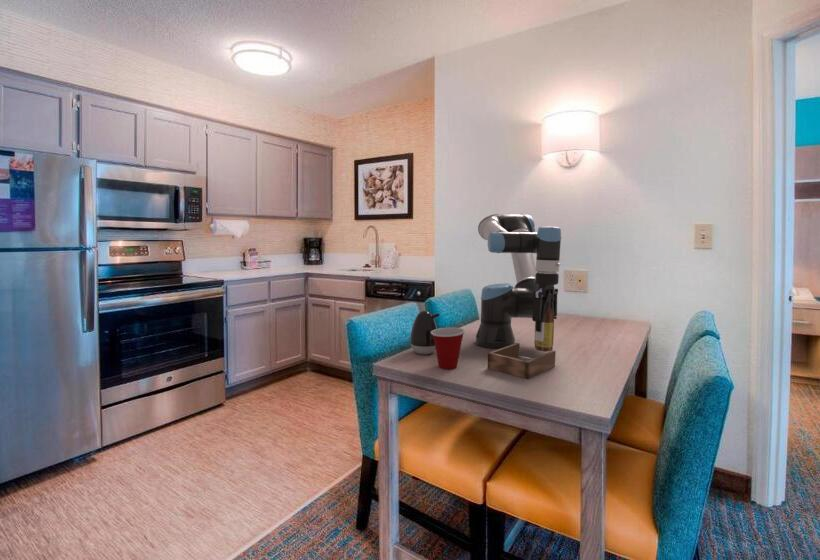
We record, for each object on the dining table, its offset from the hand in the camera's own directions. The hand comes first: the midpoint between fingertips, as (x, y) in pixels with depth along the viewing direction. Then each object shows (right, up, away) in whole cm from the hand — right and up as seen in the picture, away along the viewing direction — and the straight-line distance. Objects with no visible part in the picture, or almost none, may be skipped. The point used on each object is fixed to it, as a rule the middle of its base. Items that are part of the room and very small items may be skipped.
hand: (543, 338), depth 145 cm
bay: (-10, -8, -10) cm, 17 cm away
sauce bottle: (0, -4, +1) cm, 4 cm away
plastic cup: (-35, -8, -11) cm, 37 cm away
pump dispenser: (-41, -6, +5) cm, 42 cm away
